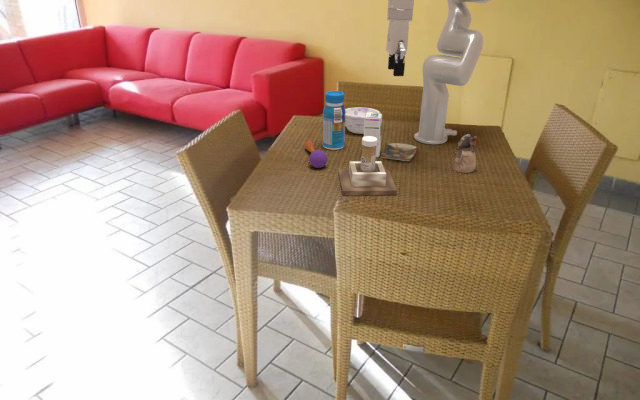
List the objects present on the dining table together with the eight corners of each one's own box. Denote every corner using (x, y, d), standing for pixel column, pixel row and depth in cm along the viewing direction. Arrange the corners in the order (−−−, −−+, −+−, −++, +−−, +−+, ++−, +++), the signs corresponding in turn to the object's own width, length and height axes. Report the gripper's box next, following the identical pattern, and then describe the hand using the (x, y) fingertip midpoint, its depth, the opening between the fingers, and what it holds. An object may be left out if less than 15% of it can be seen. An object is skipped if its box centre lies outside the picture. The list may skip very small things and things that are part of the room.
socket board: (387, 173, 157) (388, 157, 155) (396, 195, 143) (398, 178, 141) (338, 173, 157) (339, 157, 154) (342, 195, 142) (343, 178, 140)
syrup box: (379, 157, 169) (381, 117, 163) (362, 156, 170) (364, 116, 164) (380, 151, 174) (383, 112, 168) (364, 150, 175) (366, 111, 169)
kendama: (318, 138, 176) (330, 154, 158) (315, 154, 178) (327, 171, 160) (302, 136, 174) (312, 152, 156) (299, 152, 176) (309, 169, 158)
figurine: (459, 163, 166) (464, 129, 160) (478, 169, 161) (484, 134, 156) (448, 168, 161) (453, 134, 156) (467, 175, 157) (473, 139, 151)
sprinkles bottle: (356, 179, 149) (359, 138, 143) (365, 174, 152) (368, 134, 146) (368, 183, 146) (371, 141, 140) (377, 179, 150) (380, 137, 143)
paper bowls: (367, 122, 204) (368, 104, 201) (386, 133, 192) (387, 114, 188) (335, 127, 199) (335, 108, 195) (352, 138, 187) (352, 119, 183)
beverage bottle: (318, 148, 177) (319, 94, 168) (327, 141, 184) (327, 89, 175) (340, 151, 174) (342, 97, 165) (348, 144, 181) (350, 91, 172)
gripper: (383, 11, 152) (379, 66, 160) (392, 18, 137) (388, 78, 145) (406, 11, 153) (402, 66, 160) (418, 18, 137) (413, 78, 145)
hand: (395, 72), depth 153 cm, fingers open, 9 cm apart
